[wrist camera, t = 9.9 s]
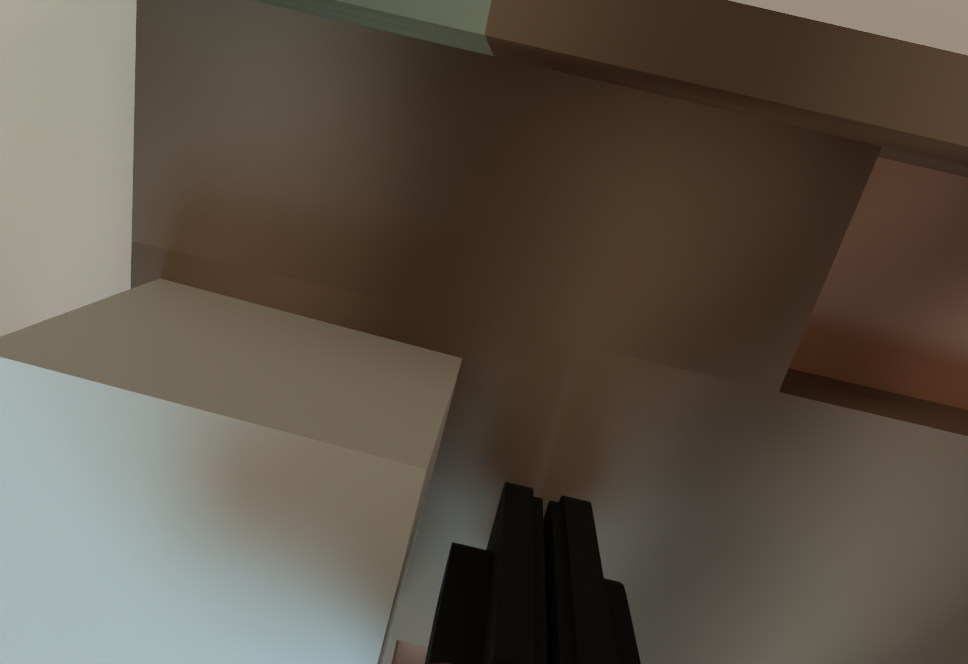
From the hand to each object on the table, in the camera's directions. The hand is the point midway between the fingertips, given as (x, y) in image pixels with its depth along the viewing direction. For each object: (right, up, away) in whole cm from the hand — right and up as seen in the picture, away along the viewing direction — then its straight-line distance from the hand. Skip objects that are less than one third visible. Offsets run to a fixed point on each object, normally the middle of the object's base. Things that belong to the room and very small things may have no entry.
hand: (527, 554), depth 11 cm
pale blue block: (-5, +2, +1) cm, 5 cm away
